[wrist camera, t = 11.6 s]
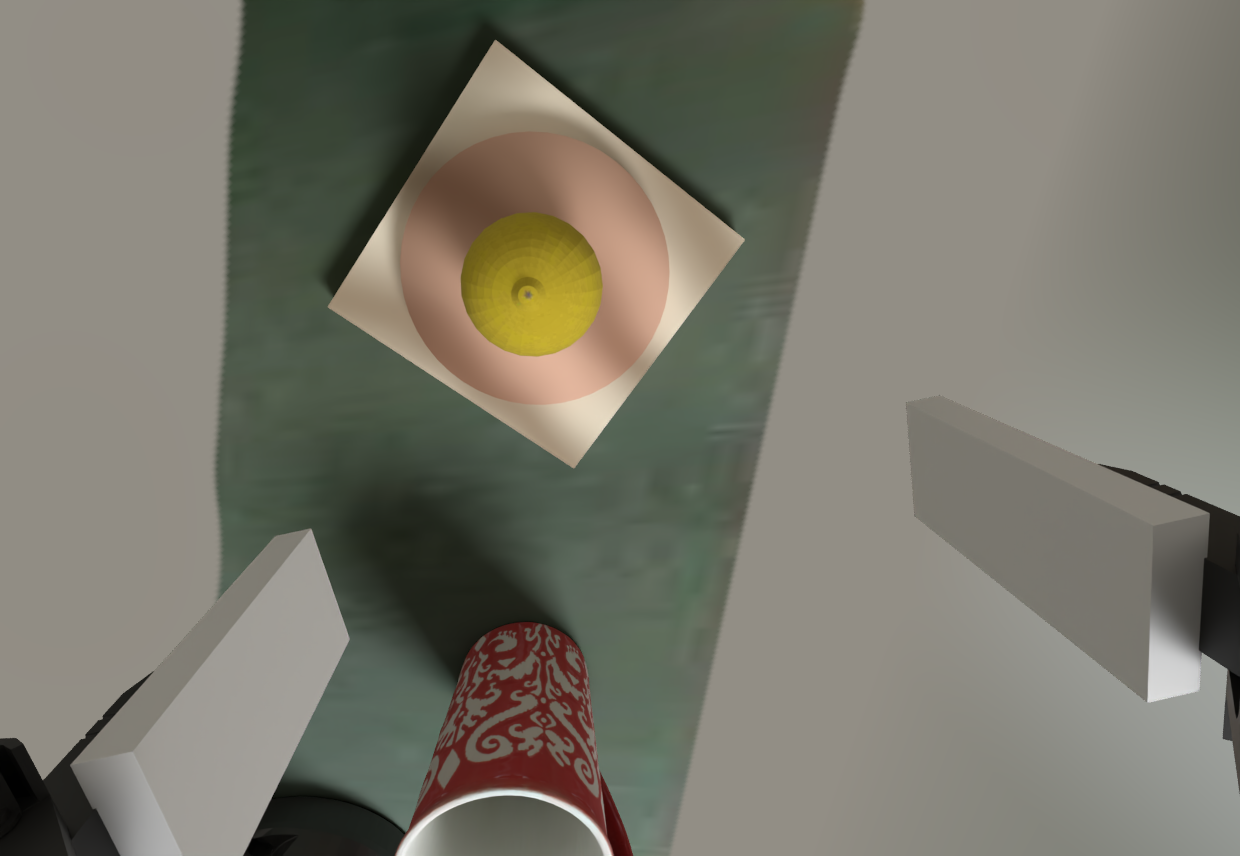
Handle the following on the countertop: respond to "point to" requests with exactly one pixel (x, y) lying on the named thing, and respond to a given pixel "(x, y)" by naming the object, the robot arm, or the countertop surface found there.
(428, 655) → the countertop surface
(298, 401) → the countertop surface
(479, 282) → the lemon
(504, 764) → the mug
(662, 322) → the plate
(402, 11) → the countertop surface
